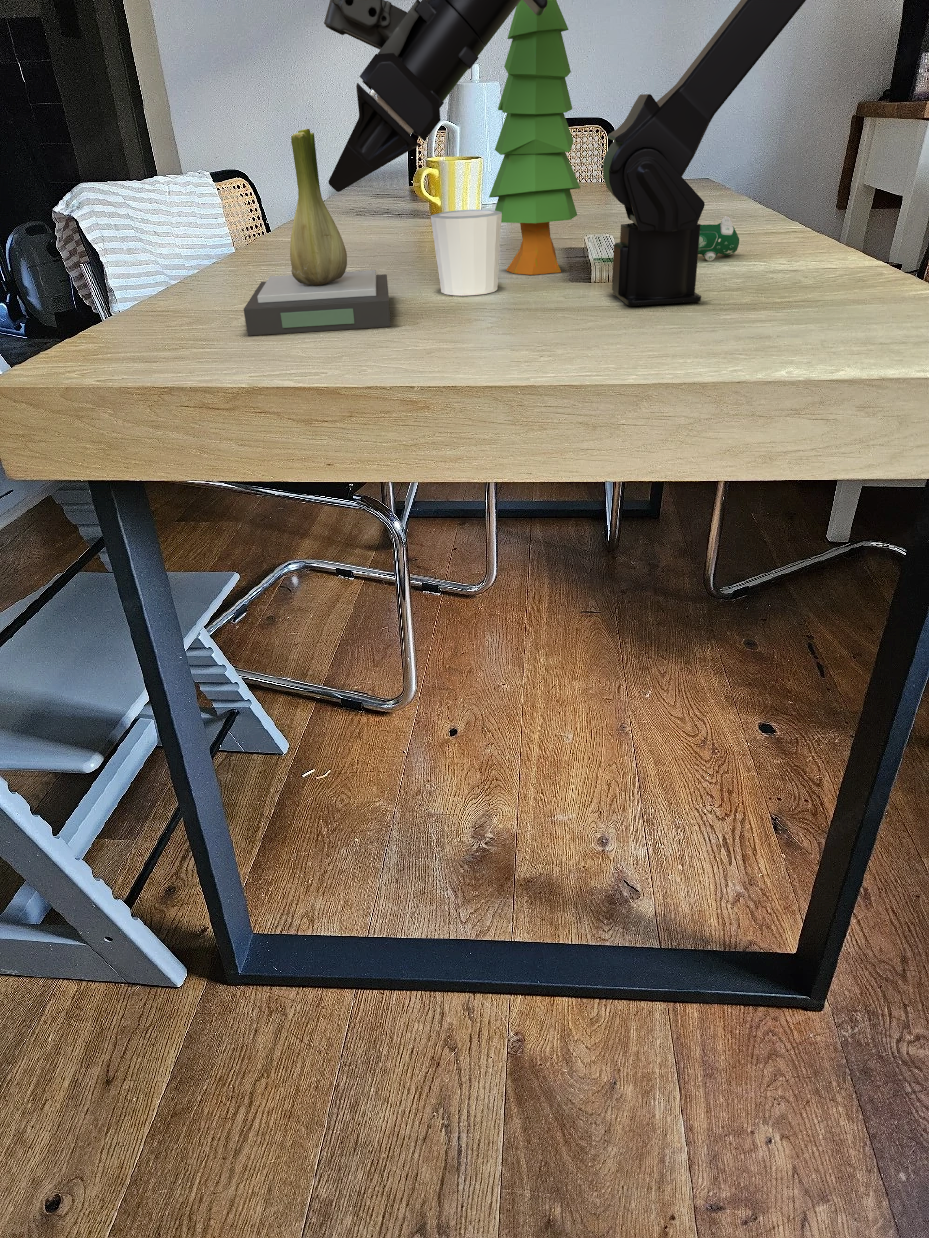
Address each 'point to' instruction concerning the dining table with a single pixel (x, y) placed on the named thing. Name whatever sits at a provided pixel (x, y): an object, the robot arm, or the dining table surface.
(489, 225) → the white cup
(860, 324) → the dining table surface
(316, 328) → the kitchen scale
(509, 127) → the decorative tree
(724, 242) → the green toy car
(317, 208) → the fennel bulb
